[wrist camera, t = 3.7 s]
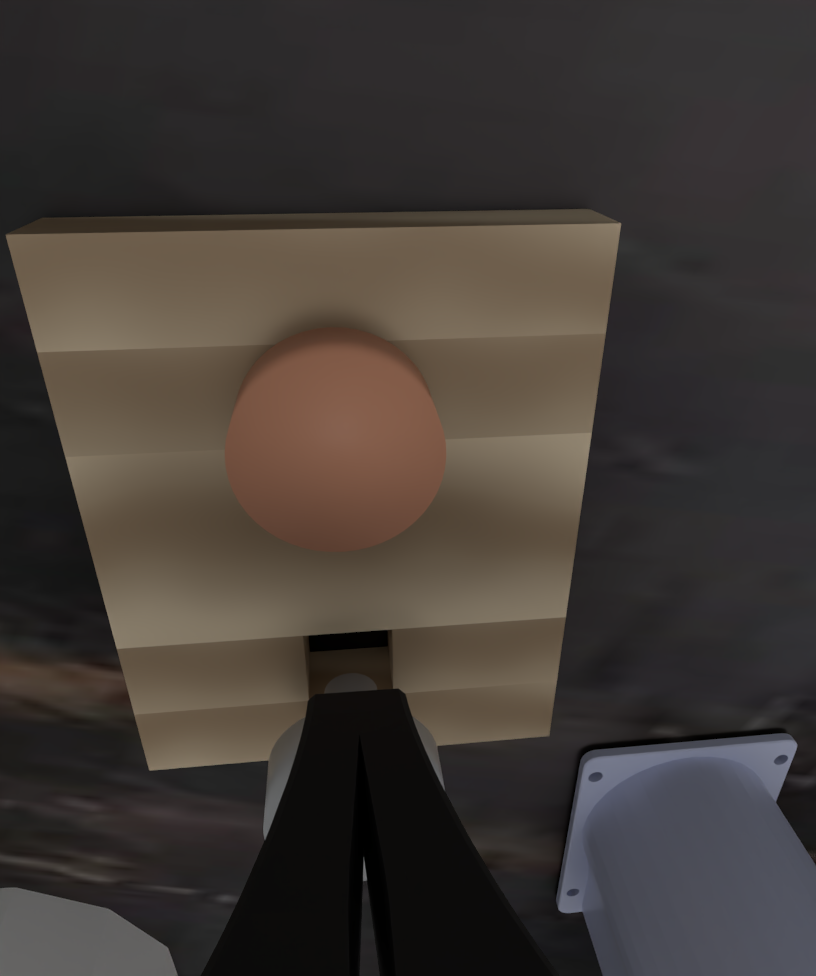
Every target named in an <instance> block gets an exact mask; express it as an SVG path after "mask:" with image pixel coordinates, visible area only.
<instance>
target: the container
mask: <svg viewBox="0 0 816 976" xmlns="http://www.w3.org/2000/svg"><path fill="white" fill-rule="evenodd" d="M0 976H178V975H177V972H176V969H175V966H174V963H173V961H172V958H171V955H170V952H169V949H168V947H166V946H165V945H163V944H162V943H160V942H158V941H157V940H155V939H154V938H152V937H151V936H149V935H148V934H146V933H145V932H143V931H142V930H140V929H139V928H137V927H136V926H134V925H133V924H131V923H130V922H128V921H127V920H125V919H123V918H122V917H120V916H119V915H117V914H116V913H114V912H113V911H111V910H110V909H107V908H103V907H98V906H94V905H90V904H85V903H81V902H77V901H72V900H68V899H64V898H59V897H55V896H50V895H46V894H42V893H37V892H33V891H29V890H24V889H20V888H16V887H15V888H0Z"/></svg>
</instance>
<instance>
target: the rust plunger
mask: <svg viewBox="0 0 816 976" xmlns="http://www.w3.org/2000/svg"><path fill="white" fill-rule="evenodd" d="M445 464H446V441H445V436H444V431H443V428H442V425H441V422H440V419H439V416H438V413H437V411H436V408H435V405H434V402H433V399H432V397H431V394H430V391H429V388H428V385H427V383H426V382H425V380H424V378H423V376H422V374H421V373H420V371H419V370H418V368H417V367H416V365H415V364H414V363H413V362H412V361H411V360H410V359H409V358H408V357H407V356H406V354H404V353H403V352H402V351H401V350H399V349H398V348H397V347H396V346H394V345H392V344H391V343H389V342H388V341H386V340H384V339H382V338H380V337H378V336H375V335H373V334H371V333H367V332H364V331H360V330H356V329H350V328H340V327H327V328H317V329H312V330H308V331H304V332H301V333H298V334H295V335H293V336H290V337H288V338H286V339H284V340H282V341H281V342H279V343H277V344H276V345H274V346H273V347H271V348H270V349H269V350H267V351H266V352H265V353H264V354H263V355H262V356H261V357H260V358H259V359H258V360H257V361H256V362H255V364H254V365H253V366H252V367H251V369H250V370H249V372H248V373H247V375H246V377H245V378H244V380H243V382H242V385H241V387H240V390H239V392H238V395H237V399H236V403H235V406H234V410H233V414H232V417H231V421H230V424H229V428H228V433H227V437H226V442H225V466H226V471H227V476H228V480H229V482H230V485H231V488H232V490H233V492H234V494H235V496H236V498H237V500H238V502H239V503H240V505H241V506H242V507H243V509H244V510H245V511H246V513H247V514H248V515H249V516H250V517H251V518H252V519H253V520H254V521H255V522H256V523H257V524H258V525H260V526H261V527H262V528H263V529H265V530H266V531H267V532H269V533H271V534H272V535H274V536H275V537H277V538H279V539H281V540H283V541H285V542H288V543H290V544H293V545H296V546H299V547H302V548H306V549H311V550H315V551H324V552H346V551H355V550H360V549H364V548H369V547H372V546H374V545H377V544H380V543H383V542H385V541H387V540H389V539H391V538H393V537H395V536H396V535H398V534H400V533H401V532H403V531H404V530H406V529H407V528H408V527H409V526H411V525H412V524H413V523H414V522H415V521H416V520H417V519H418V518H419V517H420V516H421V515H422V514H423V513H424V512H425V511H426V509H427V508H428V507H429V505H430V504H431V502H432V501H433V499H434V497H435V495H436V494H437V492H438V489H439V487H440V484H441V482H442V479H443V475H444V471H445Z"/></svg>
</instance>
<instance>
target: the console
mask: <svg viewBox="0 0 816 976" xmlns="http://www.w3.org/2000/svg"><path fill="white" fill-rule="evenodd" d="M620 228H621V223H619V222H617V221H615V220H613V219H611V218H608V217H606V216H604V215H602V214H599V213H597V212H595V211H593V210H590V209H550V210H489V211H429V212H368V213H307V214H246V215H185V216H124V217H64V218H41V219H38V220H36V221H34V222H32V223H30V224H28V225H25V226H23V227H21V228H19V229H17V230H15V231H12V232H10V233H8V234H6V238H7V242H8V245H9V249H10V253H11V256H12V260H13V264H14V268H15V271H16V275H17V279H18V283H19V286H20V290H21V294H22V297H23V301H24V305H25V309H26V312H27V316H28V320H29V324H30V327H31V331H32V335H33V338H34V342H35V346H36V350H37V353H38V357H39V361H40V365H41V368H42V372H43V376H44V379H45V383H46V387H47V391H48V394H49V398H50V402H51V406H52V409H53V413H54V417H55V421H56V424H57V428H58V432H59V435H60V439H61V443H62V447H63V450H64V454H65V458H66V462H67V465H68V469H69V473H70V476H71V480H72V484H73V488H74V491H75V495H76V499H77V503H78V506H79V510H80V514H81V517H82V521H83V525H84V529H85V532H86V536H87V540H88V544H89V547H90V551H91V555H92V558H93V562H94V566H95V570H96V573H97V577H98V581H99V585H100V588H101V592H102V596H103V599H104V603H105V607H106V611H107V614H108V618H109V622H110V626H111V629H112V633H113V637H114V640H115V644H116V648H117V652H118V655H119V659H120V663H121V667H122V670H123V674H124V678H125V681H126V685H127V689H128V693H129V696H130V700H131V704H132V708H133V711H134V715H135V719H136V722H137V726H138V730H139V734H140V737H141V741H142V745H143V749H144V752H145V756H146V760H147V763H148V767H149V771H150V770H162V769H174V768H185V767H197V766H208V765H220V764H231V763H243V762H254V761H266V760H269V757H270V754H271V751H272V749H273V747H274V745H275V743H276V742H277V740H278V739H279V738H280V736H281V735H282V734H283V733H284V732H285V731H286V730H287V729H288V728H289V727H291V726H292V725H293V724H295V723H296V722H297V721H299V720H301V719H303V718H304V717H305V716H306V710H307V703H308V700H309V699H310V698H311V697H313V696H314V695H315V694H324V691H325V688H326V686H327V684H328V683H329V682H330V681H331V680H332V679H334V678H335V677H337V676H340V675H343V674H347V673H358V674H362V675H365V676H367V677H369V678H370V679H372V680H373V681H374V683H375V684H376V686H377V690H383V689H397V688H398V689H400V690H401V691H402V692H404V693H405V694H406V697H407V701H408V705H409V708H410V711H411V714H412V717H414V718H416V719H417V720H418V721H420V722H421V723H422V724H423V725H424V726H425V727H426V728H427V729H428V730H429V732H430V733H431V734H432V736H433V738H434V740H435V742H436V745H437V746H439V745H451V744H462V743H474V742H486V741H497V740H509V739H520V738H532V737H543V736H549V733H550V726H551V719H552V712H553V704H554V697H555V690H556V683H557V676H558V669H559V662H560V655H561V648H562V640H563V633H564V626H565V619H566V612H567V605H568V598H569V591H570V584H571V576H572V569H573V562H574V555H575V548H576V541H577V534H578V527H579V519H580V512H581V505H582V498H583V491H584V484H585V477H586V470H587V463H588V455H589V448H590V441H591V434H592V427H593V420H594V413H595V406H596V399H597V391H598V384H599V377H600V370H601V363H602V356H603V349H604V342H605V334H606V327H607V320H608V313H609V306H610V299H611V292H612V285H613V278H614V270H615V263H616V256H617V249H618V242H619V235H620ZM327 327H340V328H350V329H356V330H360V331H364V332H367V333H371V334H373V335H375V336H378V337H380V338H382V339H384V340H386V341H388V342H389V343H391V344H392V345H394V346H396V347H397V348H398V349H399V350H401V351H402V352H403V353H404V354H406V356H407V357H408V358H409V359H410V360H411V361H412V362H413V363H414V364H415V365H416V367H417V368H418V370H419V371H420V373H421V374H422V376H423V378H424V380H425V382H426V383H427V385H428V388H429V391H430V394H431V397H432V399H433V402H434V405H435V408H436V411H437V413H438V416H439V419H440V422H441V425H442V428H443V431H444V436H445V441H446V464H445V471H444V475H443V479H442V482H441V484H440V487H439V489H438V492H437V494H436V495H435V497H434V499H433V501H432V502H431V504H430V505H429V507H428V508H427V509H426V511H425V512H424V513H423V514H422V515H421V516H420V517H419V518H418V519H417V520H416V521H415V522H414V523H413V524H412V525H411V526H409V527H408V528H407V529H406V530H404V531H403V532H401V533H400V534H398V535H396V536H395V537H393V538H391V539H389V540H387V541H385V542H383V543H380V544H377V545H374V546H372V547H369V548H364V549H360V550H355V551H346V552H324V551H315V550H311V549H306V548H302V547H299V546H296V545H293V544H290V543H288V542H285V541H283V540H281V539H279V538H277V537H275V536H274V535H272V534H271V533H269V532H267V531H266V530H265V529H263V528H262V527H261V526H260V525H258V524H257V523H256V522H255V521H254V520H253V519H252V518H251V517H250V516H249V515H248V514H247V513H246V511H245V510H244V509H243V507H242V506H241V505H240V503H239V502H238V500H237V498H236V496H235V494H234V492H233V490H232V488H231V485H230V482H229V480H228V476H227V471H226V466H225V442H226V437H227V433H228V428H229V424H230V421H231V417H232V414H233V410H234V406H235V403H236V399H237V395H238V392H239V390H240V387H241V385H242V382H243V380H244V378H245V377H246V375H247V373H248V372H249V370H250V369H251V367H252V366H253V365H254V364H255V362H256V361H257V360H258V359H259V358H260V357H261V356H262V355H263V354H264V353H265V352H266V351H267V350H269V349H270V348H271V347H273V346H274V345H276V344H277V343H279V342H281V341H282V340H284V339H286V338H288V337H290V336H293V335H295V334H298V333H301V332H304V331H308V330H312V329H317V328H327ZM378 630H387V635H388V646H386V647H373V648H359V649H345V650H332V651H318V652H310V647H309V636H308V635H321V634H335V633H350V632H364V631H378Z"/></svg>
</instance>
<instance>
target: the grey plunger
mask: <svg viewBox="0 0 816 976" xmlns="http://www.w3.org/2000/svg"><path fill="white" fill-rule="evenodd" d="M368 690H377V686H376V684H375V683H374V681H373V680H372V679H370V678H369V677H367V676H365V675H362V674H358V673H347V674H343V675H340V676H337V677H335V678H334V679H332V680H331V681H330V682H329V683H328V684H327V686H326V688H325V691H324V694H325V693H339V692H354V691H368ZM413 720H414V723H415V725H416V728H417V731H418V733H419V736H420V738H421V741H422V743H423V745H424V748H425V750H426V752H427V755H428V757H429V759H430V761H431V764H432V766H433V768H434V770H435V772H436V774H437V776H438V778H439V781H440V783H441V785H442V787H443V789H444V790H445V788H444V782H443V777H442V771H441V765H440V760H439V754H438V749H437V745H436V742H435V740H434V738H433V736H432V734H431V733H430V732H429V730H428V729H427V728H426V727H425V726H424V725H423V724H422V723H421V722H420V721H418V720H417V719H416V718H414V717H413ZM304 721H305V717H304V718H303V719H301V720H299V721H297V722H296V723H295V724H293V725H292V726H291V727H289V728H288V729H287V730H286V731H285V732H284V733H283V734H282V735H281V736H280V738H279V739H278V740H277V742H276V743H275V745H274V747H273V749H272V751H271V754H270V757H269V763H268V774H267V787H266V799H265V812H264V824H263V832H264V838H265V839H266V836H267V834H268V831H269V829H270V826H271V824H272V821H273V818H274V816H275V813H276V810H277V808H278V805H279V802H280V799H281V797H282V794H283V791H284V789H285V786H286V783H287V780H288V777H289V774H290V771H291V768H292V765H293V762H294V759H295V755H296V752H297V749H298V745H299V742H300V738H301V734H302V730H303V725H304ZM363 881H367V876H366V869H365V861H364V864H363Z"/></svg>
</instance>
